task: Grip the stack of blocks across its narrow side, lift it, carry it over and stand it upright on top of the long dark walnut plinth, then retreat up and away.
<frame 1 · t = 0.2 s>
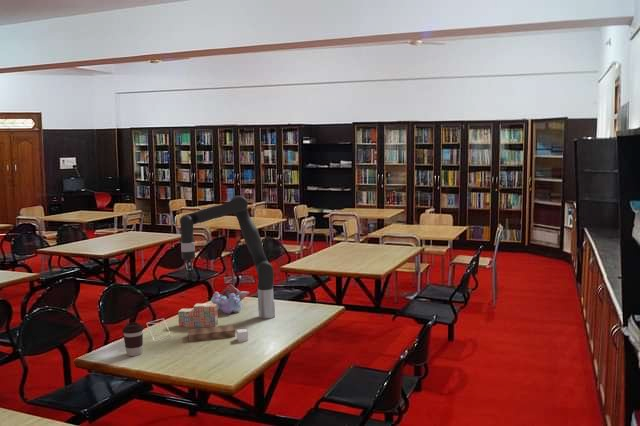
hand: (189, 278, 328), 27 cm above the table, fingers open, 8 cm apart
stack of blocks: (198, 326, 330), on the table
coffee cup: (134, 354, 285), on the table
lumpy periwinkle toy figure: (229, 310, 361), on the table
geometric polyhedron: (159, 338, 310), on the table
pale grey cube: (242, 339, 302), on the table
walnut plinth: (211, 337, 309), on the table
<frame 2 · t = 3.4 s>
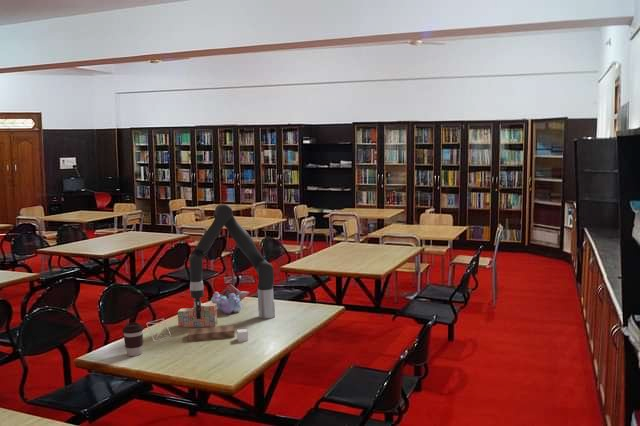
hand: (198, 316, 329), 5 cm above the table, fingers closed on stack of blocks, 7 cm apart
stack of blocks: (198, 325, 330), on the table, touching gripper
everything else where it was.
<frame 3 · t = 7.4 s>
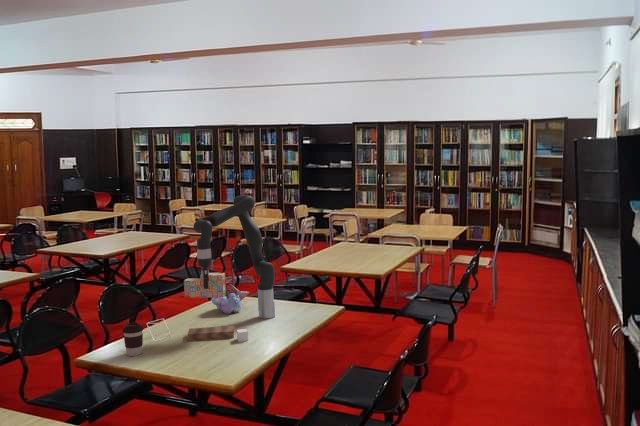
hand: (205, 286, 311), 26 cm above the table, fingers closed on stack of blocks, 7 cm apart
stack of blocks: (205, 296, 312), point 21 cm above the table, touching gripper
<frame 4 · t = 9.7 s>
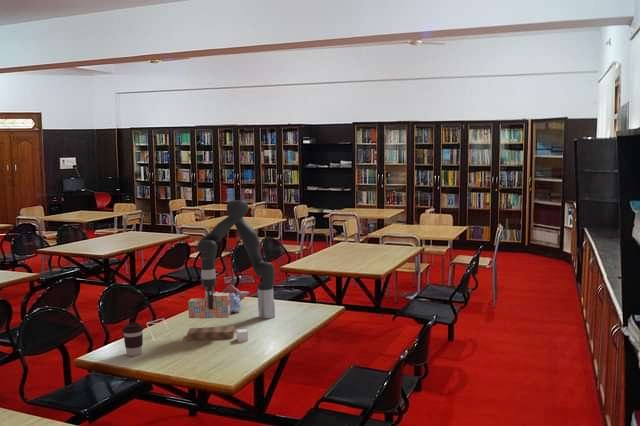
hand: (210, 307, 308), 16 cm above the table, fingers closed on stack of blocks, 7 cm apart
stack of blocks: (209, 317, 308), point 11 cm above the table, touching gripper
when the fingers open (10 cm above the table, at t = 11.5 s): stack of blocks drops 2 cm, resting on walnut plinth.
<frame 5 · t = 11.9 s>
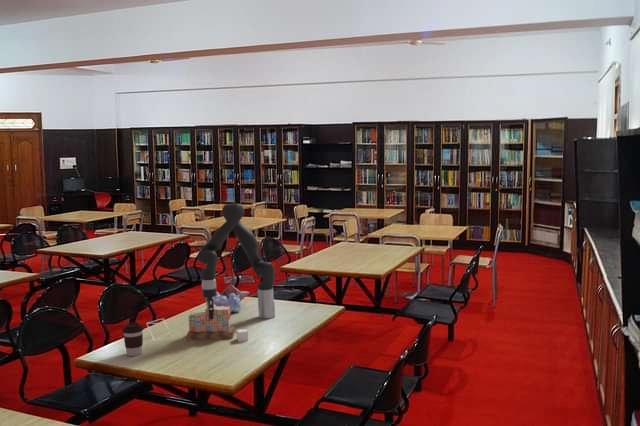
hand: (210, 317, 308), 11 cm above the table, fingers open, 8 cm apart
stack of blocks: (210, 330, 309), point 3 cm above the table, touching walnut plinth
walnut plinth: (211, 337, 309), on the table, touching stack of blocks
everything else where it was.
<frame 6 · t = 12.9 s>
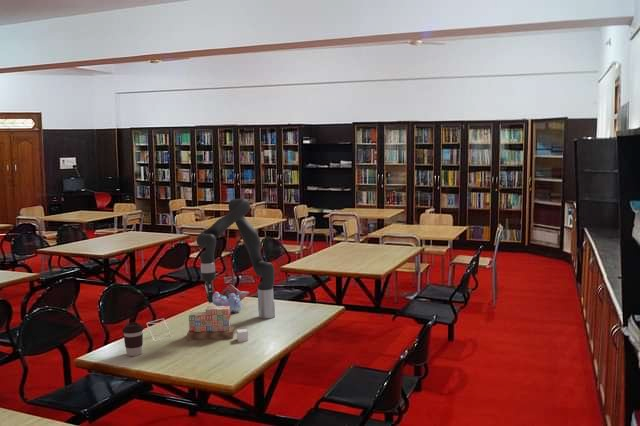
hand: (209, 300, 307), 20 cm above the table, fingers open, 8 cm apart
nothing on the table moved.
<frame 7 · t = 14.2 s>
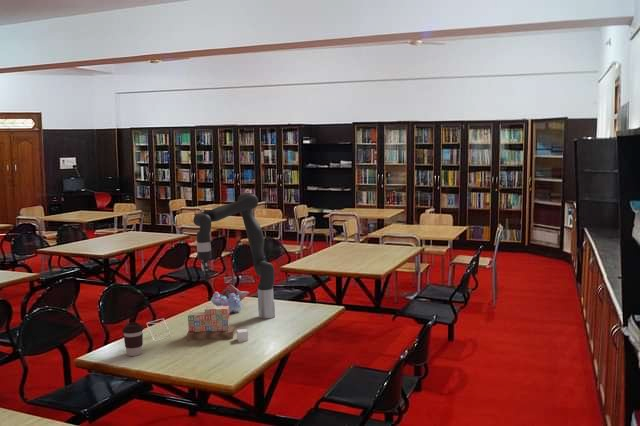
hand: (206, 279, 315), 29 cm above the table, fingers open, 8 cm apart
nothing on the table moved.
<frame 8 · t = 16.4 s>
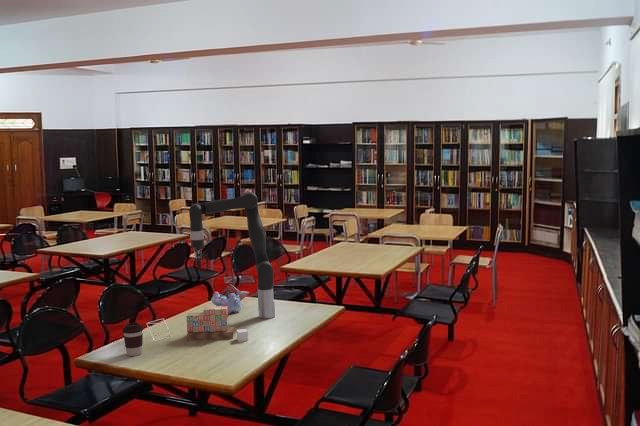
hand: (198, 266, 334), 33 cm above the table, fingers open, 8 cm apart
stack of blocks: (208, 330, 309), point 3 cm above the table
walnut plinth: (211, 337, 309), on the table
everything else where it was.
at the end: stack of blocks inside the target area on the walnut plinth (1.7 cm from its centre), point 3.8 cm above the walnut plinth's base; stack of blocks tilted 0°; the gripper is holding nothing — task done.
